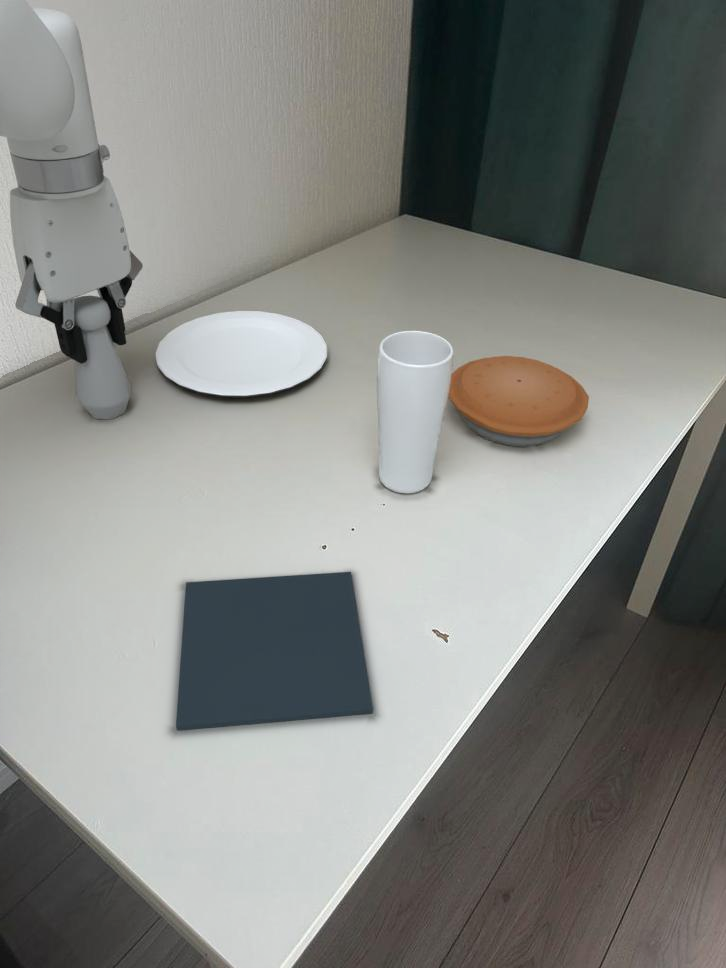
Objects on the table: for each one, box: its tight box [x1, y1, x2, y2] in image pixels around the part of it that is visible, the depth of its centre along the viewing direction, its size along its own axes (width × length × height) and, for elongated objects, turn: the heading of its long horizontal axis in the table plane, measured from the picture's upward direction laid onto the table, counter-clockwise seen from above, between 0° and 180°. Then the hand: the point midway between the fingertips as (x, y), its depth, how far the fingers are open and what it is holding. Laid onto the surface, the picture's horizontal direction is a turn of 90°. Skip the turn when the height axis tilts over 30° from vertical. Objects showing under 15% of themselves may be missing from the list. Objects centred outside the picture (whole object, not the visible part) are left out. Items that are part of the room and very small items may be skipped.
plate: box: [155, 310, 328, 398], centre depth 95 cm, size 21×21×2 cm
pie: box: [448, 355, 590, 448], centre depth 86 cm, size 16×16×5 cm
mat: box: [175, 571, 374, 731], centre depth 61 cm, size 14×14×1 cm
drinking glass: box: [376, 330, 454, 494], centre depth 73 cm, size 7×7×15 cm
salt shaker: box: [74, 295, 132, 420], centre depth 82 cm, size 6×6×13 cm
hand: (95, 348), depth 81 cm, fingers closed on salt shaker, 4 cm apart
